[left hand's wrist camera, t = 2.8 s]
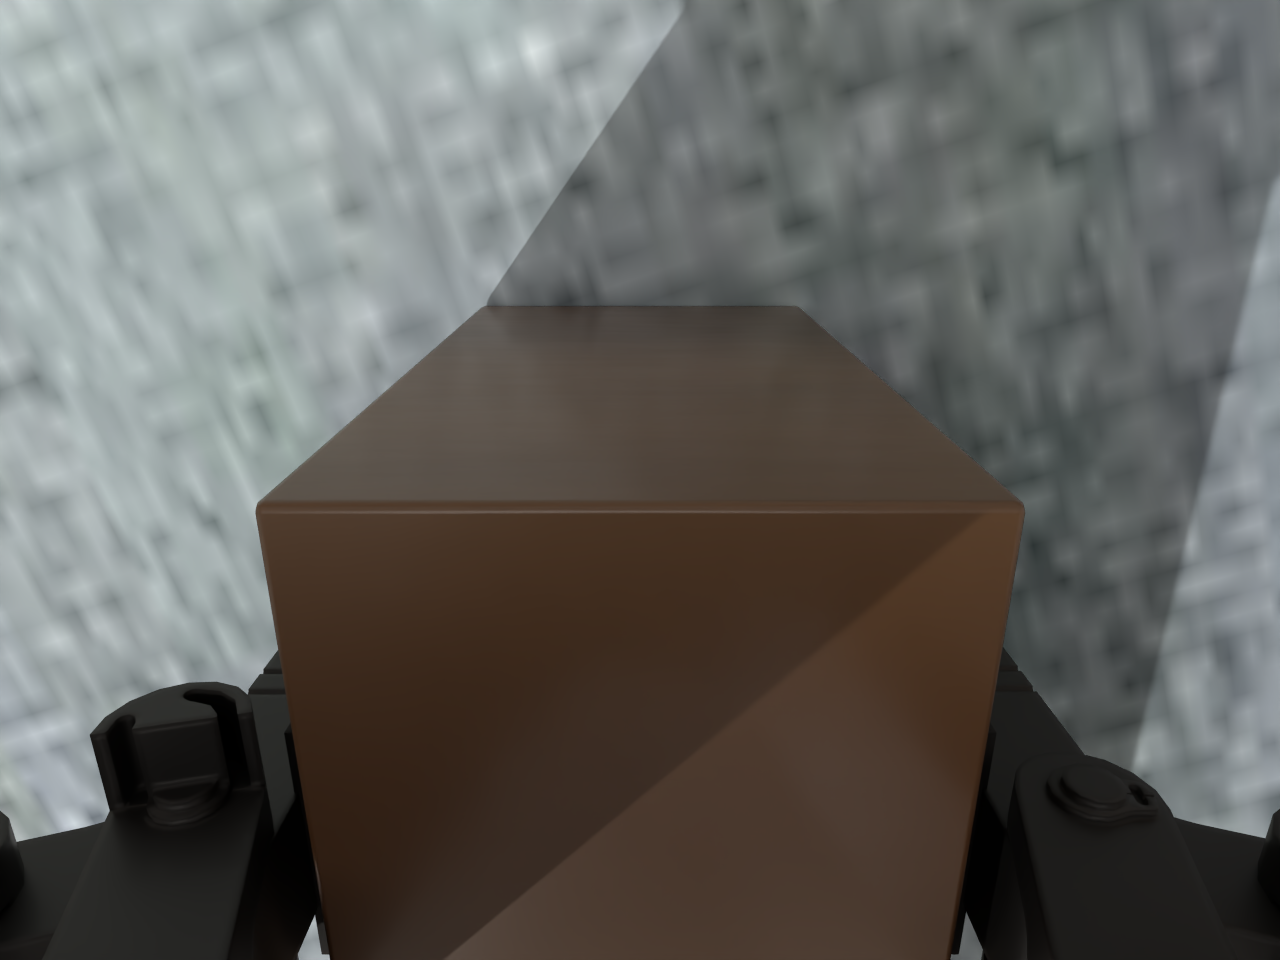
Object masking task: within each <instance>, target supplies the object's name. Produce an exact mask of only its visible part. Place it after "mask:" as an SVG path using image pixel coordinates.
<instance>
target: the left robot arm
mask: <svg viewBox="0 0 1280 960" xmlns="http://www.w3.org/2000/svg"><path fill="white" fill-rule="evenodd" d="M90 738H91V741H92V745H93V749H94V753H95V756H96V760H97V764H98V768H99V772H100V775H101V779H102V783H103V787H104V790H105V794H106V798H107V802H108V805H109V809H110V812H109V814H108V816H107V818H106V820H105V822H102V823H99V824H95V825H91V826H88V827H84V828H79V829H75V830H70V831H65V832H61V833H56V834H52V835H47V836H42V837H38V838H33V839H28V840H24V841H19V842H16V839H15V836H14V833H13V830H12V827H11V824H10V820H9V818H8V817H7V816H6V815H4V814H3V813H2V812H1V811H0V960H299V958H298V952H299V950H300V948H301V945H302V943H303V941H304V938H305V936H306V934H307V931H308V929H309V927H310V925H311V922H312V920H313V918H314V915H315V917H316V923H317V928H318V934H319V940H320V946H321V952H322V954H329V949H328V943H327V937H326V931H325V925H324V919H323V913H322V907H321V901H320V895H319V889H318V883H317V877H316V871H315V866H314V860H313V854H312V848H311V842H310V836H309V830H308V824H307V818H306V812H305V806H304V800H303V794H302V788H301V782H300V776H299V770H298V764H297V758H296V752H295V746H294V740H293V734H292V728H291V722H290V716H289V710H288V704H287V698H286V692H285V686H284V680H283V674H282V668H281V662H280V656H279V650H278V651H277V652H276V654H275V655H274V656H273V658H272V659H271V660H270V662H269V663H268V664H267V666H266V667H265V668H264V672H263V674H260V675H259V676H258V678H257V679H256V680H255V681H254V683H253V684H252V685H251V687H250V688H249V692H248V695H247V694H246V693H245V692H244V691H242V690H241V689H240V688H239V687H237V686H232V685H228V684H224V683H220V682H196V683H186V684H181V685H177V686H172V687H168V688H163V689H159V690H156V691H154V692H151V693H149V694H147V695H144V696H142V697H139V698H137V699H134V700H132V701H129V702H128V703H126V704H125V705H123V706H122V707H120V708H119V709H117V710H116V711H114V712H112V713H111V714H109V715H108V716H106V717H105V718H104V719H103V720H102V721H101V723H100V724H99V725H98V726H97V727H96V728H95V729H94V731H93V732H92V733H91V734H90ZM966 912H967V914H968V916H969V919H970V921H971V923H972V926H973V928H974V930H975V932H976V935H977V937H978V939H979V942H980V944H981V946H982V948H983V953H982V958H981V960H1280V809H1279V810H1278V811H1277V812H1275V813H1274V814H1273V817H1272V820H1271V823H1270V826H1269V829H1268V832H1267V836H1266V839H1265V838H1261V837H1256V836H1251V835H1247V834H1242V833H1237V832H1233V831H1228V830H1223V829H1219V828H1214V827H1210V826H1205V825H1200V824H1196V823H1192V822H1189V821H1185V820H1181V819H1178V818H1174V817H1173V814H1172V812H1171V810H1170V809H1169V807H1168V806H1167V805H1166V803H1165V802H1164V800H1163V799H1162V798H1161V796H1160V795H1159V794H1158V792H1157V791H1156V790H1155V789H1153V788H1152V787H1151V786H1149V785H1148V784H1147V783H1145V782H1144V781H1143V780H1141V779H1140V778H1139V777H1137V776H1136V775H1135V774H1133V773H1132V772H1130V771H1127V770H1125V769H1123V768H1121V767H1119V766H1117V765H1115V764H1112V763H1110V762H1108V761H1106V760H1103V759H1099V758H1095V757H1091V756H1087V755H1084V753H1083V752H1082V751H1081V750H1080V748H1079V747H1078V746H1077V744H1076V743H1075V742H1074V740H1073V739H1072V738H1071V736H1070V735H1069V734H1068V732H1067V731H1066V730H1065V728H1064V727H1063V726H1062V724H1061V723H1060V722H1059V720H1058V719H1057V718H1056V717H1055V715H1054V714H1053V713H1052V711H1051V710H1050V709H1049V707H1048V706H1047V705H1046V703H1045V702H1044V701H1043V699H1042V698H1041V697H1040V695H1039V694H1038V693H1037V692H1033V686H1032V685H1031V684H1030V682H1029V681H1028V680H1027V678H1026V677H1025V676H1024V674H1023V673H1022V672H1021V671H1018V666H1017V665H1016V664H1015V662H1014V661H1013V660H1012V658H1011V657H1010V656H1009V654H1008V653H1007V652H1006V650H1005V649H1004V648H1003V647H1002V653H1001V659H1000V665H999V671H998V677H997V683H996V689H995V695H994V701H993V707H992V713H991V719H990V725H989V731H988V737H987V743H986V749H985V755H984V761H983V767H982V773H981V779H980V785H979V791H978V797H977V803H976V809H975V815H974V821H973V827H972V833H971V839H970V845H969V851H968V856H967V862H966V868H965V874H964V880H963V886H962V892H961V898H960V904H959V910H958V916H957V922H956V928H955V934H954V940H953V946H952V952H951V954H959V949H960V944H961V938H962V932H963V926H964V920H965V914H966Z"/></svg>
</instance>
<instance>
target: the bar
mask: <svg viewBox="0 0 1280 960" xmlns="http://www.w3.org/2000/svg"><path fill="white" fill-rule="evenodd" d="M1024 516H1025V509H1024V505H1023V503H1022V502H1021V501H1020V500H1019V499H1018V498H1017V497H1015V496H1014V495H1013V494H1012V493H1011V492H1010V491H1009V490H1007V489H1006V488H1005V487H1004V486H1003V485H1002V484H1001V483H999V482H998V481H997V480H996V479H995V478H994V477H993V476H991V475H990V474H989V473H988V472H987V471H986V470H985V469H983V468H982V467H981V466H980V465H979V464H978V463H977V462H975V461H974V460H973V459H972V458H971V457H970V456H969V455H967V454H966V453H965V452H964V451H963V450H962V449H961V448H959V447H958V446H957V445H956V444H955V443H954V442H952V441H951V440H950V439H949V438H948V437H947V436H946V435H944V434H943V433H942V432H941V431H940V430H939V429H938V428H936V427H935V426H934V425H933V424H932V423H931V422H930V421H928V420H927V419H926V418H925V417H924V416H923V415H922V414H920V413H919V412H918V411H917V410H916V409H915V408H914V407H912V406H911V405H910V404H909V403H908V402H907V401H906V400H904V399H903V398H902V397H901V396H900V395H899V394H898V393H896V392H895V391H894V390H893V389H892V388H891V387H890V386H888V385H887V384H886V383H885V382H884V381H883V380H882V379H880V378H879V377H878V376H877V375H876V374H875V373H874V372H872V371H871V370H870V369H869V368H868V367H867V366H866V365H864V364H863V363H862V362H861V361H860V360H859V359H858V358H856V357H855V356H854V355H853V354H852V353H851V352H849V351H848V350H847V349H846V348H845V347H844V346H843V345H841V344H840V343H839V342H838V341H837V340H836V339H835V338H833V337H832V336H831V335H830V334H829V333H828V332H827V331H825V330H824V329H823V328H822V327H821V326H820V325H819V324H817V323H816V322H815V321H814V320H813V319H812V318H811V317H809V316H808V315H807V314H806V313H805V312H804V311H803V310H801V309H800V308H799V307H796V306H484V307H482V308H481V309H480V310H478V311H477V312H476V313H475V314H474V315H473V316H471V317H470V318H469V319H468V320H467V321H466V322H465V323H463V324H462V325H461V326H460V327H459V328H458V329H457V330H455V331H454V332H453V333H452V334H451V335H450V336H449V337H447V338H446V339H445V340H444V341H443V342H442V343H440V344H439V345H438V346H437V347H436V348H435V349H434V350H432V351H431V352H430V353H429V354H428V355H427V356H426V357H424V358H423V359H422V360H421V361H420V362H419V363H418V364H416V365H415V366H414V367H413V368H412V369H411V370H409V371H408V372H407V373H406V374H405V375H404V376H403V377H401V378H400V379H399V380H398V381H397V382H396V383H395V384H393V385H392V386H391V387H390V388H389V389H388V390H387V391H385V392H384V393H383V394H382V395H381V396H380V397H379V398H377V399H376V400H375V401H374V402H373V403H372V404H370V405H369V406H368V407H367V408H366V409H365V410H364V411H362V412H361V413H360V414H359V415H358V416H357V417H356V418H354V419H353V420H352V421H351V422H350V423H349V424H348V425H346V426H345V427H344V428H343V429H342V430H341V431H339V432H338V433H337V434H336V435H335V436H334V437H333V438H331V439H330V440H329V441H328V442H327V443H326V444H325V445H323V446H322V447H321V448H320V449H319V450H318V451H317V452H315V453H314V454H313V455H312V456H311V457H310V458H308V459H307V460H306V461H305V462H304V463H303V464H302V465H300V466H299V467H298V468H297V469H296V470H295V471H294V472H292V473H291V474H290V475H289V476H288V477H287V478H286V479H284V480H283V481H282V482H281V483H280V484H279V485H278V486H276V487H275V488H274V489H273V490H272V491H271V492H269V493H268V494H267V495H266V496H265V497H264V498H263V499H261V500H260V501H259V502H258V504H257V507H256V519H257V525H258V531H259V537H260V543H261V549H262V555H263V561H264V567H265V573H266V579H267V585H268V591H269V597H270V603H271V608H272V614H273V620H274V626H275V632H276V638H277V644H278V650H279V656H280V662H281V668H282V674H283V680H284V686H285V692H286V698H287V704H288V710H289V716H290V722H291V728H292V734H293V740H294V746H295V752H296V758H297V764H298V770H299V776H300V782H301V788H302V794H303V800H304V806H305V812H306V818H307V824H308V830H309V836H310V842H311V848H312V854H313V860H314V866H315V871H316V877H317V883H318V889H319V895H320V901H321V907H322V913H323V919H324V925H325V931H326V937H327V943H328V949H329V955H330V960H950V958H951V952H952V946H953V940H954V934H955V928H956V922H957V916H958V910H959V904H960V898H961V892H962V886H963V880H964V874H965V868H966V862H967V856H968V851H969V845H970V839H971V833H972V827H973V821H974V815H975V809H976V803H977V797H978V791H979V785H980V779H981V773H982V767H983V761H984V755H985V749H986V743H987V737H988V731H989V725H990V719H991V713H992V707H993V701H994V695H995V689H996V683H997V677H998V671H999V665H1000V659H1001V653H1002V647H1003V642H1004V636H1005V630H1006V624H1007V618H1008V612H1009V606H1010V600H1011V594H1012V588H1013V582H1014V576H1015V570H1016V564H1017V558H1018V552H1019V546H1020V540H1021V534H1022V528H1023V522H1024Z"/></svg>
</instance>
